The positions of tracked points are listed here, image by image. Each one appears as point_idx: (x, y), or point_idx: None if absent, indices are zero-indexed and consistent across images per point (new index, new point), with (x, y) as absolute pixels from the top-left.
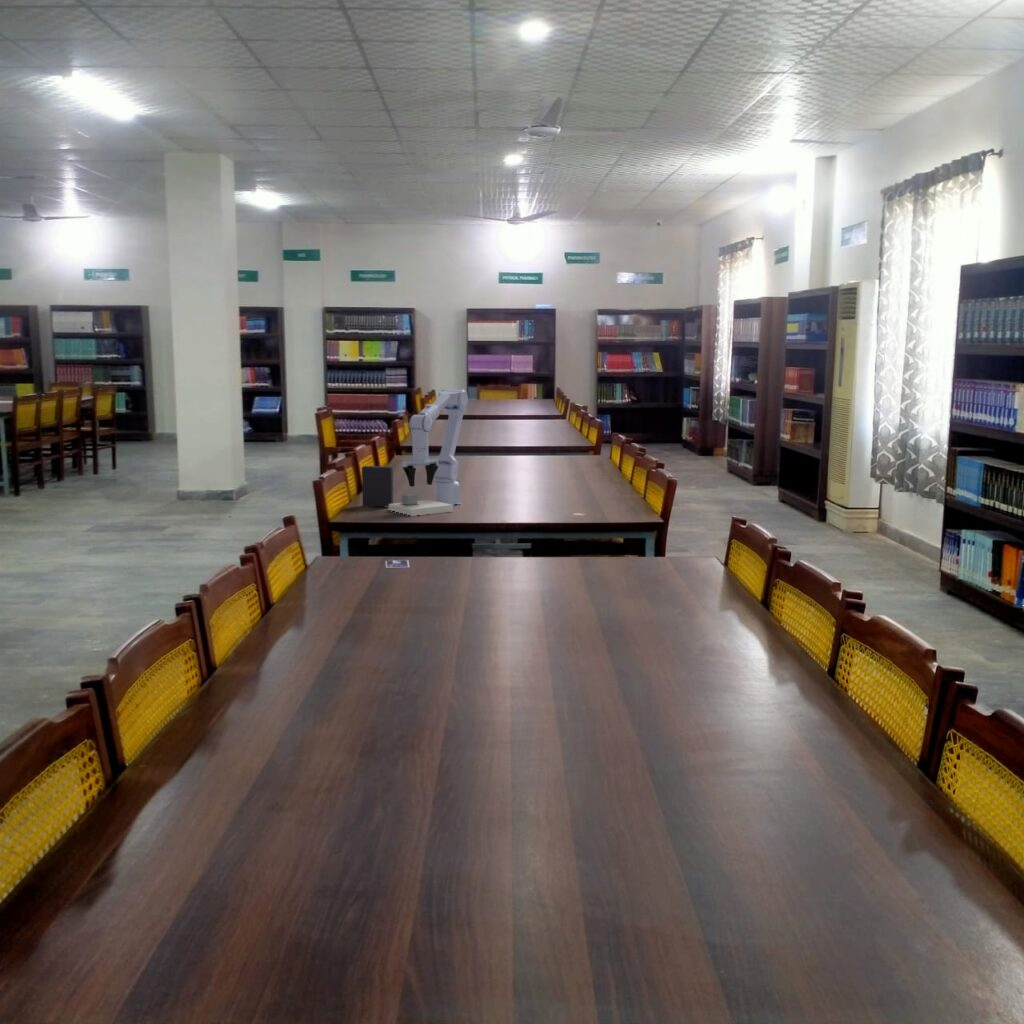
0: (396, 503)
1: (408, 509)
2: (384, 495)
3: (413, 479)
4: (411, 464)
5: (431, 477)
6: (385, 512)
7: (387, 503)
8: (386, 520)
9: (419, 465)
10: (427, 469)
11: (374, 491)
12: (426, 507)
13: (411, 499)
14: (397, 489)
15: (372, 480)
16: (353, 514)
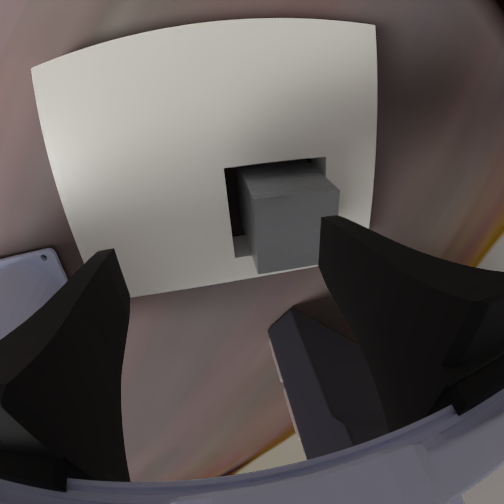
0: None
1: (374, 58)
2: (328, 355)
3: (374, 241)
4: (465, 427)
5: (83, 288)
6: (385, 205)
7: (307, 324)
8: (474, 35)
9: (310, 462)
10: (108, 432)
11: (359, 379)
12: (251, 30)
13: (299, 181)
14: (136, 477)
15: (382, 420)
16: (476, 220)
